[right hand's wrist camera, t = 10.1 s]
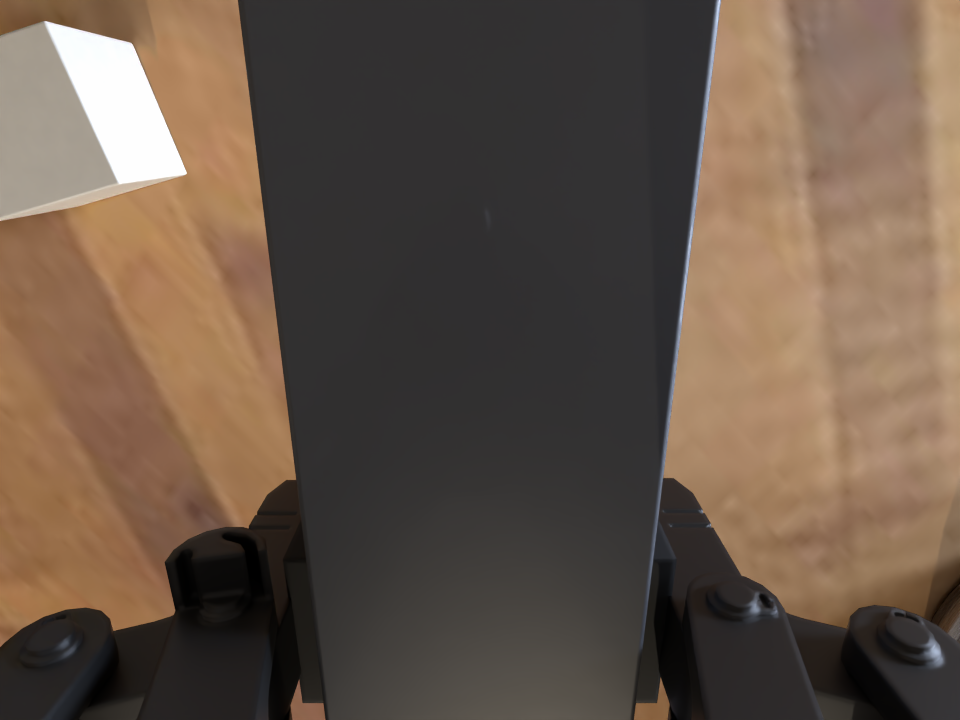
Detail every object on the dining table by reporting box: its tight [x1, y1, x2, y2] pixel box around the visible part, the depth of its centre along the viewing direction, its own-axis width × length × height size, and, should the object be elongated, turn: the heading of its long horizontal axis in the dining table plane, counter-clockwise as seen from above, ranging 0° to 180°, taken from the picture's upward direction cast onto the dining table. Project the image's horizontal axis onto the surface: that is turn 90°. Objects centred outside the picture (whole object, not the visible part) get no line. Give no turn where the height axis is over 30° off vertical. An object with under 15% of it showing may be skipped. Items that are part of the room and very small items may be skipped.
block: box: [0, 21, 186, 221], centre depth 22 cm, size 5×5×5 cm
